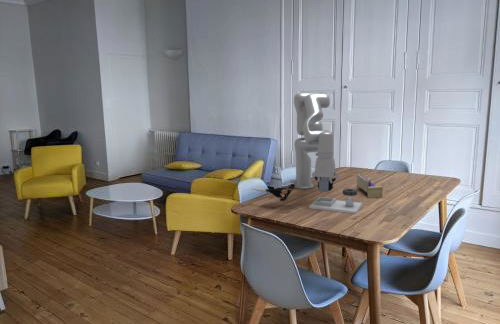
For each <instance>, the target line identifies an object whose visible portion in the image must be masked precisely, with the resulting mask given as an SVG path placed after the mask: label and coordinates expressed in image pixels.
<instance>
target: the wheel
mask: <svg viewBox="0 0 500 324" xmlns="http://www.w3.org/2000/svg"><path fill="white" fill-rule="evenodd" d="M342 195H343V196H348V197H354V196H357V195H358V189H355V188H344V189H342Z"/></svg>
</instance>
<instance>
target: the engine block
mask: <svg viewBox="0 0 500 324" xmlns="http://www.w3.org/2000/svg"><path fill="white" fill-rule="evenodd" d="M329 183H330V180H329V178H323V177H321V179H320V180H319V188H318V192H323V193H329V192H330V191H329Z"/></svg>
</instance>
